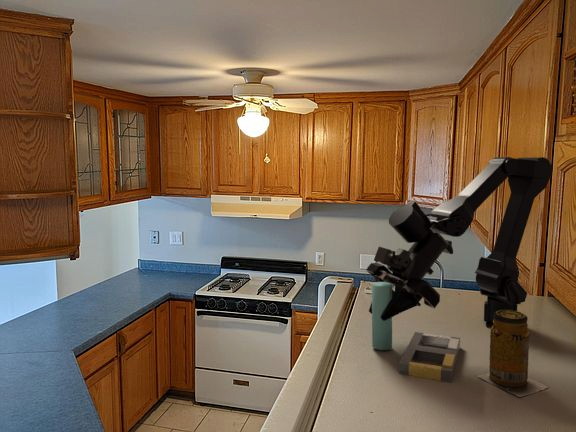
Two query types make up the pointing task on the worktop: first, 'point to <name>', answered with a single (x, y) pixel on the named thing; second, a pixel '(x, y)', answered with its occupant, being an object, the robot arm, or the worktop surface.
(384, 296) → the plug
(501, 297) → the robot arm
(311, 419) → the worktop surface
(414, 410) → the worktop surface
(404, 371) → the socket plate
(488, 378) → the condiment
